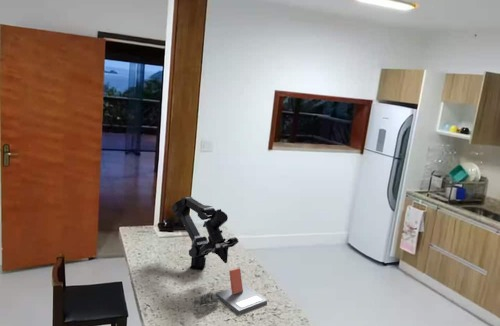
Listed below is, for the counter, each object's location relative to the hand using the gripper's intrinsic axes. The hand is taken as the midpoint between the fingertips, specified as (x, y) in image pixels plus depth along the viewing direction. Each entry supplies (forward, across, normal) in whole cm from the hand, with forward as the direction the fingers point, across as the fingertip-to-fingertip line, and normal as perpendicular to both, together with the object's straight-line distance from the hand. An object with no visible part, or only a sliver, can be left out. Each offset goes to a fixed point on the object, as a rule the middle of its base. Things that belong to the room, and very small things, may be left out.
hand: (226, 262), depth 181 cm
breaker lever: (+14, 0, 0) cm, 14 cm away
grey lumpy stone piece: (+15, +16, -2) cm, 22 cm away
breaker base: (+17, 0, +1) cm, 17 cm away
